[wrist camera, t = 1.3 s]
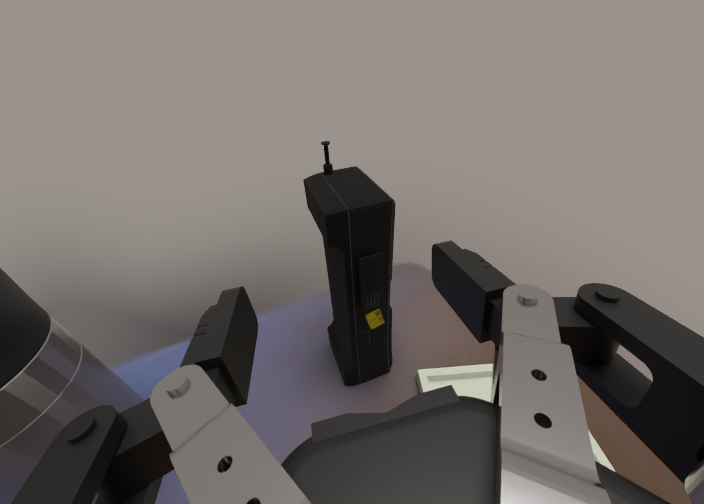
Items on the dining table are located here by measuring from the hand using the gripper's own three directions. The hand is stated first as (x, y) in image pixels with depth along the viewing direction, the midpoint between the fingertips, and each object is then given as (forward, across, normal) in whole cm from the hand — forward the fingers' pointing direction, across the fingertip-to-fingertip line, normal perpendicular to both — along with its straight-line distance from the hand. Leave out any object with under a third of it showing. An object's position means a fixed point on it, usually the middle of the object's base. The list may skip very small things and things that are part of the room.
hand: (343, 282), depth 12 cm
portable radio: (+14, -1, +21) cm, 25 cm away
